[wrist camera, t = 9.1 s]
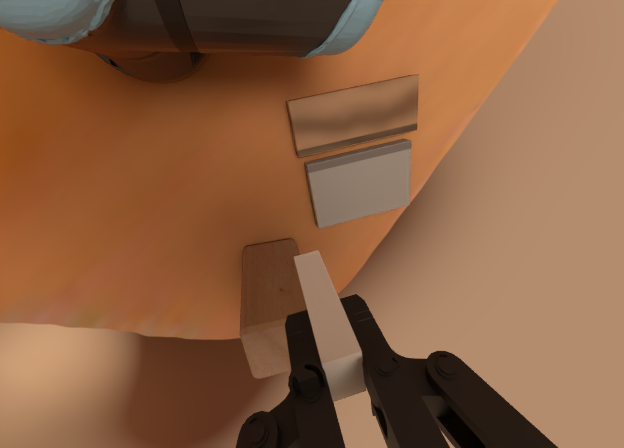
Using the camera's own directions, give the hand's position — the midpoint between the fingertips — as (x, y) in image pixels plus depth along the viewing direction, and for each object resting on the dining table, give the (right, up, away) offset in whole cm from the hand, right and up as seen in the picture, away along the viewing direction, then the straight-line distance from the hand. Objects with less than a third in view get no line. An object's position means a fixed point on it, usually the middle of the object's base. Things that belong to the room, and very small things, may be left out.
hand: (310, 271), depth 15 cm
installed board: (+7, +20, +25) cm, 33 cm away
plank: (+9, +10, +31) cm, 33 cm away
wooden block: (-8, -4, +35) cm, 36 cm away
